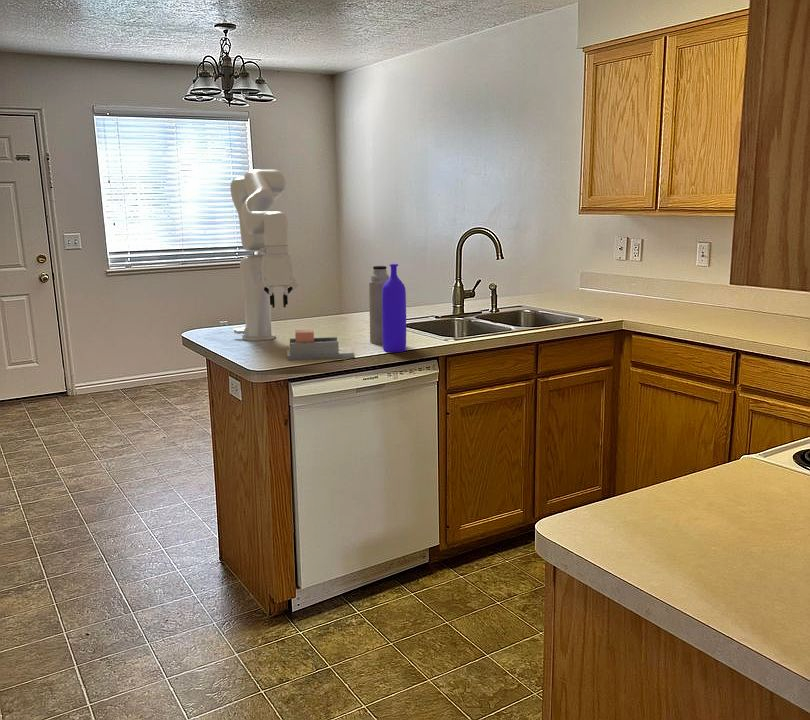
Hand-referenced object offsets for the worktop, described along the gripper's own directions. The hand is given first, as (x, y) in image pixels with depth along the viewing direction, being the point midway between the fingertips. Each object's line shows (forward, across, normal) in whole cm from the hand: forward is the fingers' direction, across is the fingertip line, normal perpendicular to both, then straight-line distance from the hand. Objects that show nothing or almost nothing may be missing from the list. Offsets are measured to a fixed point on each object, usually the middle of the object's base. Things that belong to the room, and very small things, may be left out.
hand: (279, 306), depth 246 cm
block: (+16, +8, 0) cm, 17 cm away
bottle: (+17, +39, +5) cm, 43 cm away
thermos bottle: (+17, +36, +21) cm, 45 cm away
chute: (+17, +13, 0) cm, 22 cm away
